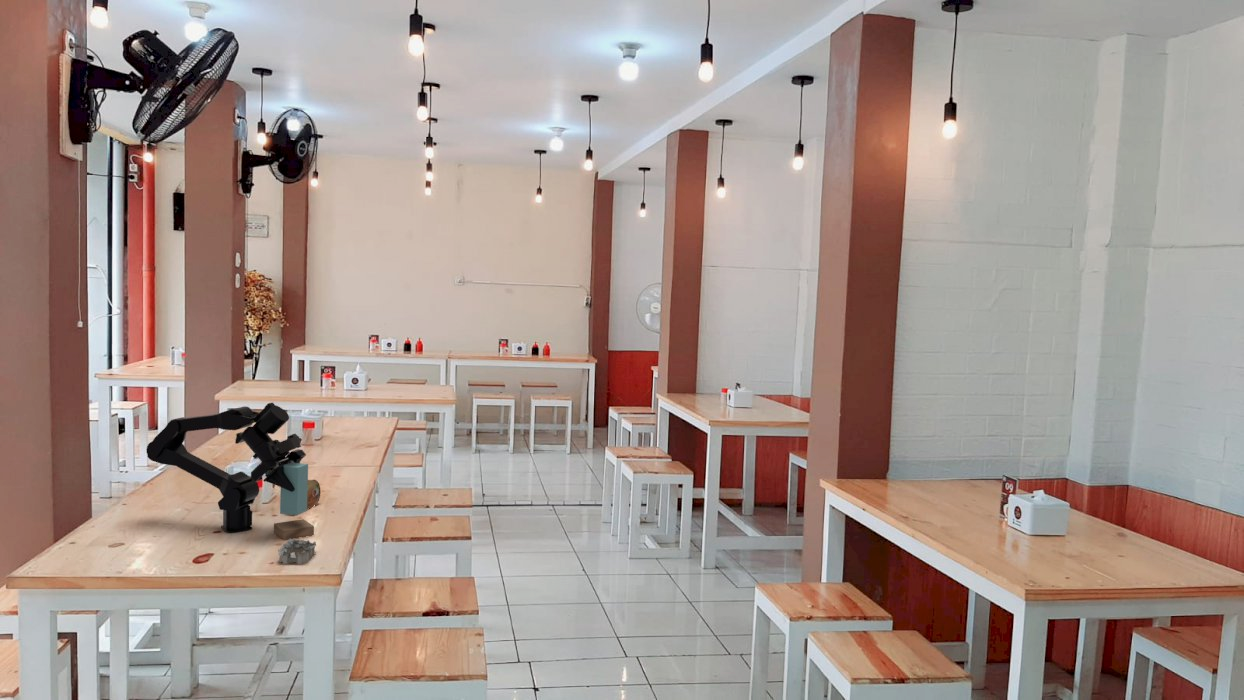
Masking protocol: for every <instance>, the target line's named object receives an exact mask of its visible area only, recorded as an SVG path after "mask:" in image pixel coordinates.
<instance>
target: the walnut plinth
mask: <svg viewBox="0 0 1244 700" xmlns="http://www.w3.org/2000/svg"><path fill="white" fill-rule="evenodd" d="M273 533H274V534H275V535H276V536H277V537H279V538H280V539H281V538H282V539H281V540H283V541H288V540H289V539H293V538H296V539H300V538H299V537H302V538H306V536H309V537H313V536H312V535H314V536H315V526H314V525H313V524H311V523H310V522H308V521H307V520H305V519H304V518H303V519H297V520H287V521H283V522H277V523H275V522H274V523H273ZM293 540H294V539H293Z"/></svg>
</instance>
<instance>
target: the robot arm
mask: <svg viewBox="0 0 1244 700" xmlns="http://www.w3.org/2000/svg"><path fill="white" fill-rule="evenodd" d="M289 419H290V416H289V414H288V412H287V411H286V410H285V409H283V407H281V406H279V405H275V404H274V402H269V403H267V404H266V405H265V406H264V408H263V409H262V410H260V412H257V411H254V410H253V409H251V408H250V407H249V406H241V407H240V406H239V407H235V408H231V409H228V410H225V411H222V412H219V413H216V414H215V413H214V414H208V415H207V414H206V415H198V416H191V417H189V416H188V417H177V418H173V419H170V420H169V422H167V424H166V426H165V427H164V428H163V429H162V430H161V431H160V432H159V433H158V434H157V435H156V436H155V437H154V438H153V439H152V441H151V442H149V443H148V444H147V446H146V455H147V458H148V459H149V460H150V461H152V462H155V463H157V464H160V465H167V466H173V467H177V468H178V469H181V470H182V471H185V472H186V473H188V474H190V475H192V476H193V477H196V478H197V479H200V480H202V481H203V482H205V483H207V484H209V485H210V486H213V487H215V488H217V489H218V490H219V492H220V494H221V495H222V498H220V499H219V501H218V502H217V504H218V508H219V511H222V524H221V526H220V527H221V529H223V530H224V531H225V532H226V533H227V534H229V533H235V532H236V533H237V532H243V531H250V530H253V526H252V525H253V511H252V510H251V505H253V504H254V501H255V500H256V498H257V496H258V495H259V494H260V486H259V482H260V481H262V480H263V482H264V483H265V482H267V483H270V484H272V485H275V486H277V487H279V488H281V487H282V488H284V489H286V490H288V491H291V492H293V491H294V490H295V488H294V486H293V485H292V483H291V482H290V480H289V479H288V478H287V476H286V475H285V473H284V465H286V464H288V463H291V462H292V463H301V462H302V460H303V459H304V458H305V457H306V456H307V454H306V453H305V452H304V450H303V449H300V448H301V447H302V445H301V443H302V438H301V437H300V436H299V435H297V434H296V433H292V434H290V435H288V436H287V439H284V440H282V441H280V440H278V439H272V437H271V436H270V435H275V433H277V432H278V431H279V430H280V429H281V428H282V427H283V426H284V425H285V424H286V423H287V422H288V421H289ZM253 424H254V425H253ZM244 428H245V429H244ZM211 429H220V430H225V431H237V430H241V429H244V430H243V431H241V432H238V433H235V435H236V436H235V437H236V438H235V440H234V442H235V444H236V445H237V444H241V443H245V444H246V445H247V446H248V447H249V449H250V450H251V451H252V452H253V453H254V454H253V455H252V458H253V459H254V460H256V459H258V460H259V461H260V463H259V464H258V465H257V466H256V467H255V468H254V469H253V470H252V471H250V475H248V474H246V473H245V472H244V471H239V472H235V473H233V474H232V473H231V474H230V473H228V472H226V471H224V470H223V469H220V468H219V467H217V466H215V465H213V464H211V463H210V462H208V461H205V460H204V459H202V458H200V457H198V456H196V455H194V454H192V453H190V452H189V451H188V450H187V449H186V447H185V445H184V444H183V443H184V442H185V440H186V435H187V433H188V432H193V431H194V432H195V431H204V430H211ZM269 434H270V435H269ZM263 476H265V478H264V479H263Z"/></svg>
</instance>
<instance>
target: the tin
mask: <svg viewBox="0 0 1244 700" xmlns="http://www.w3.org/2000/svg"><path fill="white" fill-rule="evenodd" d="M320 498H321V485H320V483H319V481H318V480H316V479H308V491H307V509H308V508H311V507H313V506H314V505H316V506H317V505H318V503H319V501H320ZM313 508H314V507H313ZM311 509H312V508H311ZM308 510H309V509H308Z"/></svg>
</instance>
